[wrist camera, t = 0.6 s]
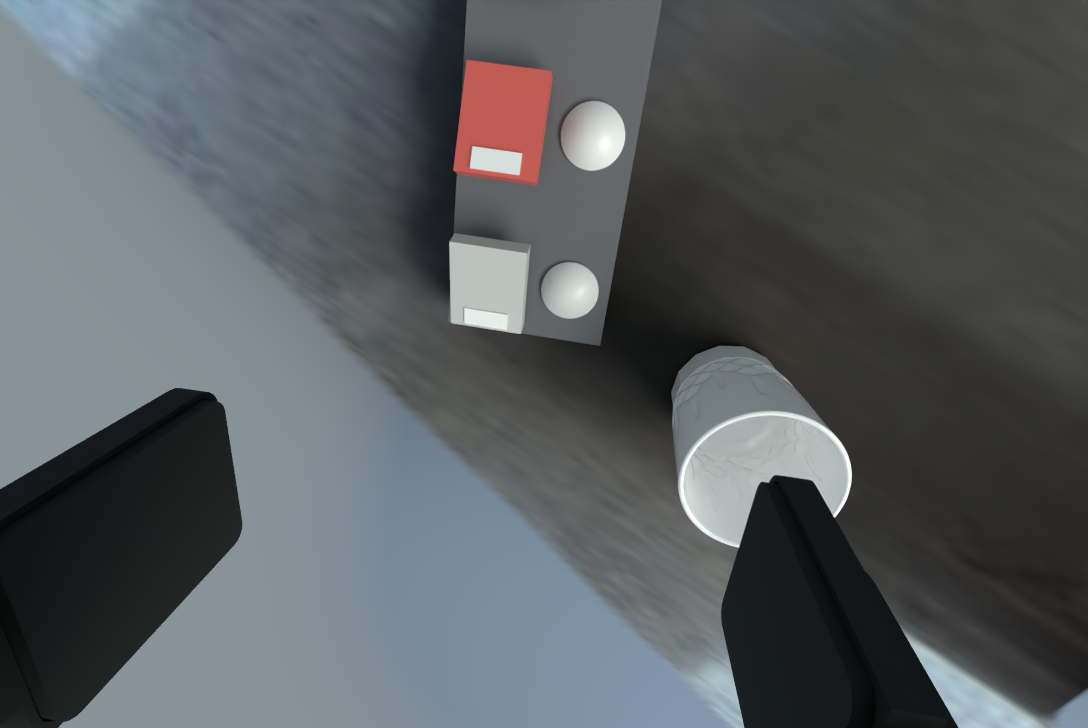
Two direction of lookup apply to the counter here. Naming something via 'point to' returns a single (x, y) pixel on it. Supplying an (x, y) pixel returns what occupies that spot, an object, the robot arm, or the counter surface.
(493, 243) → the rocker outlet
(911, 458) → the counter surface
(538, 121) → the outlet rocker
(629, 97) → the power strip
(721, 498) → the white cup
